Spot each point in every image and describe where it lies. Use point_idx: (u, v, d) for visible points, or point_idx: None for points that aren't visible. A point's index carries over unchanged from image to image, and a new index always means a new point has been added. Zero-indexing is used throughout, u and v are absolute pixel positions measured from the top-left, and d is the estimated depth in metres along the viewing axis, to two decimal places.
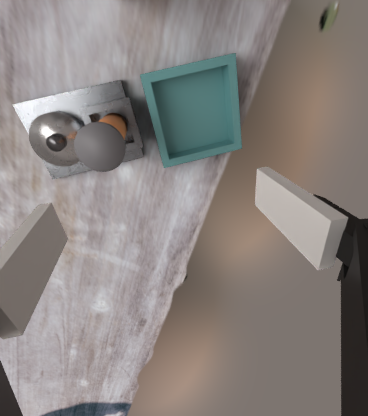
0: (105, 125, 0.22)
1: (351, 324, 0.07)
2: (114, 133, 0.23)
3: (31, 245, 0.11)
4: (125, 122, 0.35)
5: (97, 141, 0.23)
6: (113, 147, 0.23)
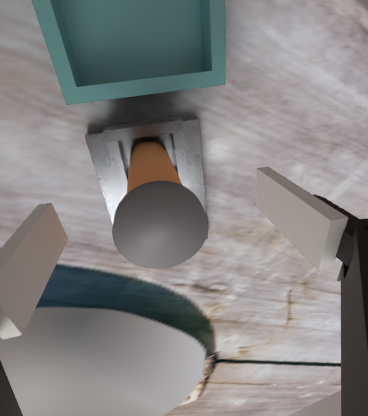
0: (116, 218, 0.11)
1: (351, 324, 0.07)
2: (133, 204, 0.11)
3: (31, 245, 0.11)
4: (142, 140, 0.22)
5: (148, 235, 0.12)
6: (162, 210, 0.11)
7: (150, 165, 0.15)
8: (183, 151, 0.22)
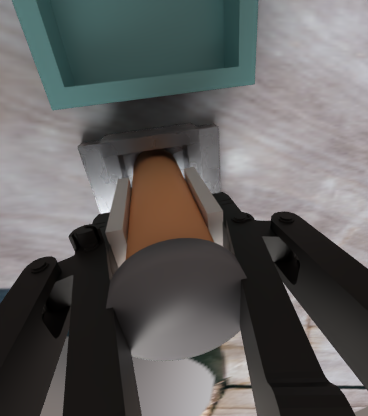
0: (110, 304, 0.07)
1: (242, 314, 0.07)
2: (137, 284, 0.06)
3: (128, 207, 0.13)
4: (149, 153, 0.18)
5: (160, 322, 0.07)
6: (184, 288, 0.07)
7: (161, 196, 0.11)
8: (199, 167, 0.18)
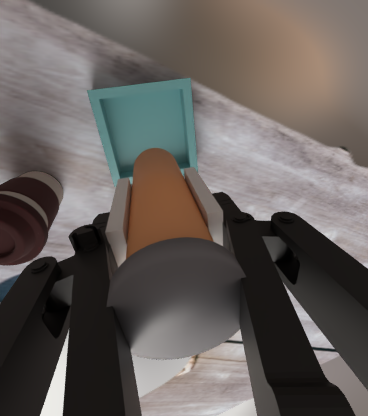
0: (111, 302, 0.07)
1: (242, 314, 0.07)
2: (137, 283, 0.06)
3: (128, 207, 0.13)
4: (149, 153, 0.18)
5: (160, 321, 0.07)
6: (184, 287, 0.07)
7: (161, 196, 0.11)
8: None
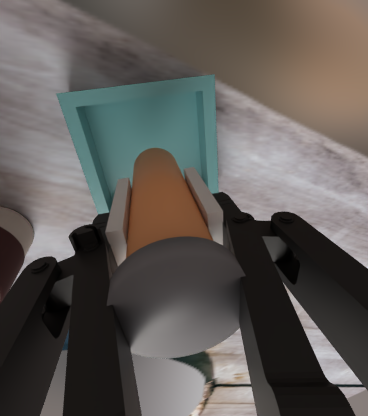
0: (111, 301, 0.07)
1: (242, 314, 0.07)
2: (137, 282, 0.06)
3: (128, 207, 0.13)
4: (149, 153, 0.18)
5: (160, 319, 0.07)
6: (184, 286, 0.07)
7: (161, 196, 0.11)
8: None
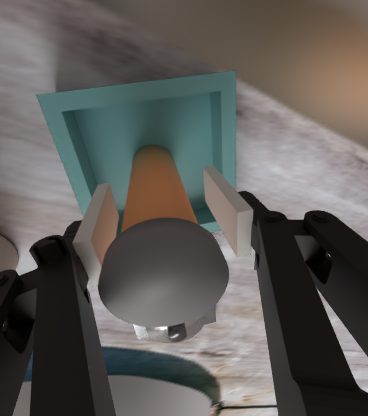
0: (103, 271, 0.08)
1: (269, 312, 0.07)
2: (126, 254, 0.08)
3: (104, 214, 0.12)
4: (146, 149, 0.19)
5: (147, 290, 0.09)
6: (166, 259, 0.08)
7: (153, 186, 0.12)
8: None
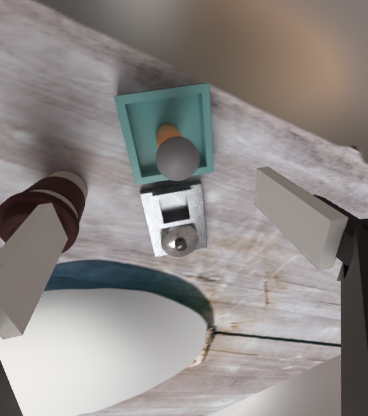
0: (158, 152, 0.25)
1: (351, 324, 0.07)
2: (166, 145, 0.25)
3: (31, 245, 0.11)
4: (164, 124, 0.36)
5: (171, 161, 0.26)
6: (178, 148, 0.25)
7: (171, 134, 0.29)
8: (192, 203, 0.42)
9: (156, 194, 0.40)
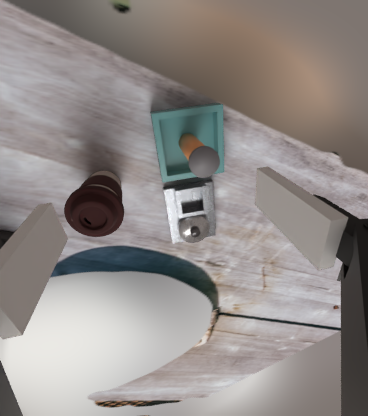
0: (191, 156, 0.35)
1: (351, 324, 0.07)
2: (197, 152, 0.35)
3: (31, 245, 0.11)
4: (186, 134, 0.46)
5: (200, 163, 0.36)
6: (205, 154, 0.35)
7: (196, 143, 0.39)
8: (206, 197, 0.52)
9: (178, 190, 0.50)
